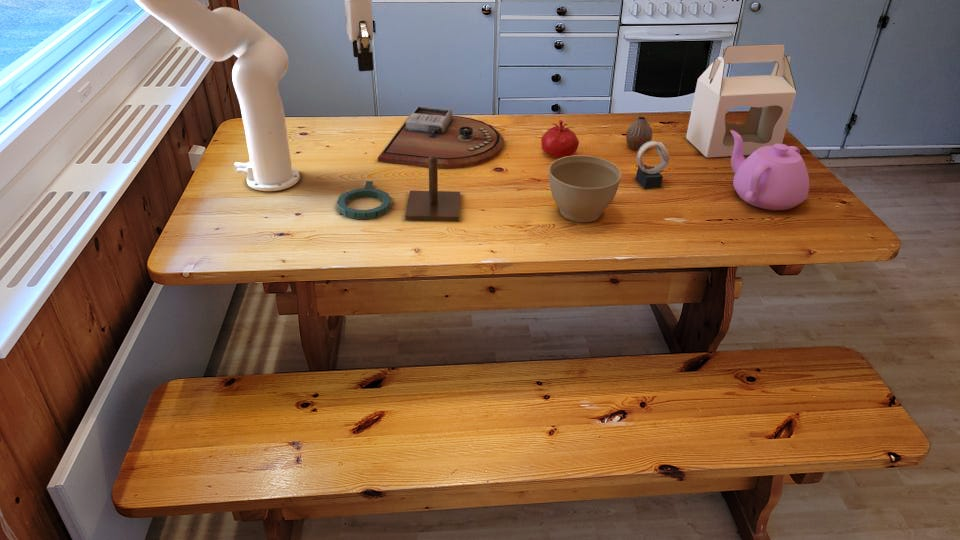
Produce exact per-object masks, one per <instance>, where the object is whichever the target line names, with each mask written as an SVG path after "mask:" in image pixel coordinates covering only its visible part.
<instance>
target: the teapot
mask: <svg viewBox="0 0 960 540" xmlns="http://www.w3.org/2000/svg"><path fill="white" fill-rule="evenodd" d="M730 132H731V133H732V135H733V137H734V149H733V153H732V156H730V157H731V158H730V167H731V171H732V172H733V174H734V176H733V180H732V185H733V188H734V190H735V192H736V194H737V195H738V196H739V198H740V199H741V200H743V201H744V202H746V203H747V204H750V205H751V206H754V207H757V208H760V209H765V210H770V211H785V210H786V211H787V210H790V209H794V208H795V207H796V206H798V205H800V204H802V203H803V202H804V201H806V199H807V198H808V196H809V191H810V177H809V171H808V169H807V166H806V163H805V160H804V159H803V156H802V155H801V154H800V153H801V151H800V149H799V147H797V146H795V145H790V146H789V145H787V144H785V143H782V144H774V146H763V147H760V148H758V149H757V150H756V151H754V152H753V153H752V154H751V155H748V157H746V158H745V155H743V140H742V137H741V136H740V135H739V134H738V133H737V132H735V131H733V130H730Z"/></svg>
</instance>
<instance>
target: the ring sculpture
mask: <svg viewBox="0 0 960 540" xmlns="http://www.w3.org/2000/svg"><path fill="white" fill-rule="evenodd" d="M652 147H655V150H656V153H657V154H658V155H659V157H660V159H661V161H660V162H659V163H658V164H657V165H656V166H645V165H644V160H643V155H644V153H645V152H646V151H647V150H649V149H650V148H652ZM669 160H671V156H670V153H669V150H668V149H667V148H666V146H665V145H664V143H663V142H661V141H659V142H658V141H657V140H651V141H650V142H647V143H645V144H643V145H642V146H641V147H640V149H639V150H638V151H637V153H636V163H637V165H638V167H637V170H636V175H635V180H636V181H637V183H639V185H640V186H641V187H642V188H643V189H644V190H649V189H650V190H651V189H660V188H661V187H662V184H663V179H664V176H663V175H662V174H661V172H662V171H663V170H664V169H665V168H666V167H667V166H668V165H669Z"/></svg>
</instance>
